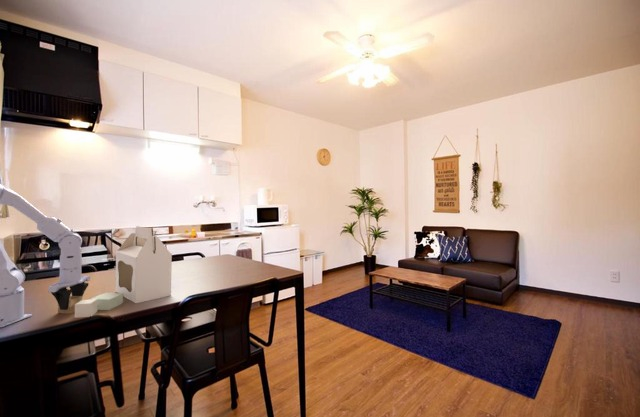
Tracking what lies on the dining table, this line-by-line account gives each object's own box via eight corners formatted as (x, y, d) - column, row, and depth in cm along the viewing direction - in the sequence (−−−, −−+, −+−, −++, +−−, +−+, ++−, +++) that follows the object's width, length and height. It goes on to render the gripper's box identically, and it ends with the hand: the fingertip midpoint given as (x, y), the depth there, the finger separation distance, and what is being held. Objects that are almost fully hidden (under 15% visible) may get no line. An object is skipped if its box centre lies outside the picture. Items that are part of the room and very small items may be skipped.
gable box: (171, 295, 118) (172, 228, 117) (135, 304, 107) (136, 229, 107) (149, 285, 131) (149, 225, 131) (115, 292, 121) (116, 226, 120)
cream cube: (90, 316, 94) (90, 303, 94) (74, 318, 93) (74, 304, 93) (97, 311, 99) (97, 299, 99) (82, 312, 98) (82, 299, 98)
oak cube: (71, 313, 97) (71, 300, 97) (57, 313, 97) (58, 300, 97) (82, 308, 101) (82, 296, 101) (69, 308, 101) (69, 295, 101)
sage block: (109, 310, 101) (109, 299, 101) (89, 310, 101) (89, 299, 101) (123, 303, 108) (123, 293, 108) (104, 303, 108) (104, 293, 108)
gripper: (63, 273, 92) (63, 314, 92) (98, 263, 106) (98, 300, 106) (41, 272, 92) (41, 314, 92) (79, 263, 106) (79, 299, 106)
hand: (70, 306), depth 99 cm, fingers closed on oak cube, 4 cm apart
